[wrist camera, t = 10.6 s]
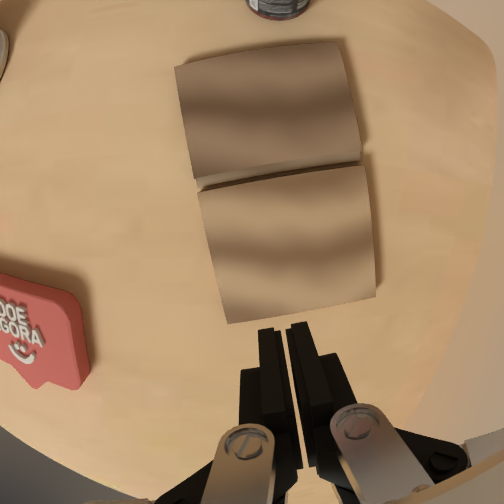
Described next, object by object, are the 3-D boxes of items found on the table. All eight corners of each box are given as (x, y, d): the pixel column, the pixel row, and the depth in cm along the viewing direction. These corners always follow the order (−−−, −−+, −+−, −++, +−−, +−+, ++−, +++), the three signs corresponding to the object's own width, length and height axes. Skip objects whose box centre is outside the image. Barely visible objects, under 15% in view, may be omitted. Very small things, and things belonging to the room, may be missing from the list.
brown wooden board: (177, 71, 23) (174, 67, 21) (334, 46, 22) (337, 42, 20) (198, 187, 25) (196, 188, 24) (359, 160, 24) (363, 160, 23)
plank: (199, 191, 25) (197, 193, 24) (360, 164, 25) (364, 164, 23) (228, 318, 29) (227, 324, 27) (371, 291, 28) (376, 296, 27)
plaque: (-9, 370, 29) (-34, 275, 25) (4, 357, 32) (-16, 266, 28) (85, 413, 29) (64, 307, 25) (97, 394, 33) (82, 292, 29)
